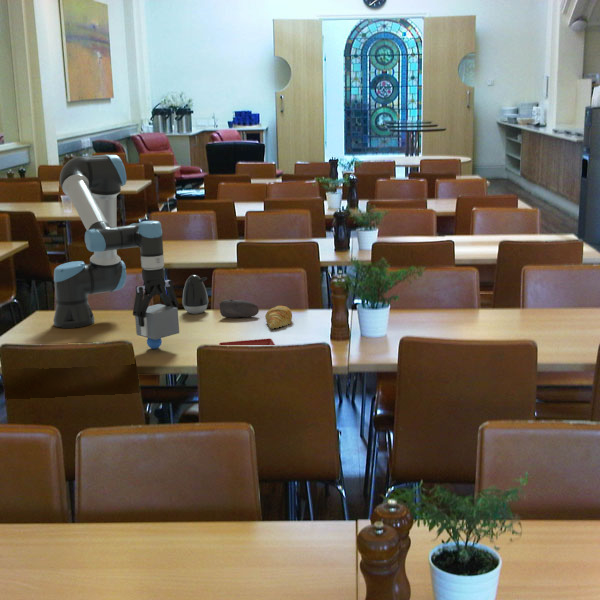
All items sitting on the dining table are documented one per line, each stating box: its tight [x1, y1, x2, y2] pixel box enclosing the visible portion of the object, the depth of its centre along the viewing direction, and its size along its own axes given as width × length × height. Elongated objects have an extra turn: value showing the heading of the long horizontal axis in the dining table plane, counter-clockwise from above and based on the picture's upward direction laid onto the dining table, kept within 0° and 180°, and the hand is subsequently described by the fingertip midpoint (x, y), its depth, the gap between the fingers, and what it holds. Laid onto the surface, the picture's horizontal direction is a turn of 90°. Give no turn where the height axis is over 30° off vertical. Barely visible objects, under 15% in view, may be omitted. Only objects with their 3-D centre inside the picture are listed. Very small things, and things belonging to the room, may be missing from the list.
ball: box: [146, 338, 163, 350], centre depth 297 cm, size 5×5×5 cm
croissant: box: [264, 305, 293, 330], centre depth 325 cm, size 21×10×8 cm, turn 168°
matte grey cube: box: [134, 303, 180, 340], centre depth 294 cm, size 10×10×9 cm
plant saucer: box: [218, 338, 276, 346], centre depth 286 cm, size 18×18×3 cm
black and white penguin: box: [182, 274, 209, 315], centre depth 344 cm, size 10×10×15 cm
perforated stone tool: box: [218, 299, 259, 319], centre depth 335 cm, size 15×5×7 cm, turn 84°
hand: (157, 332), depth 295 cm, fingers closed on matte grey cube, 10 cm apart
